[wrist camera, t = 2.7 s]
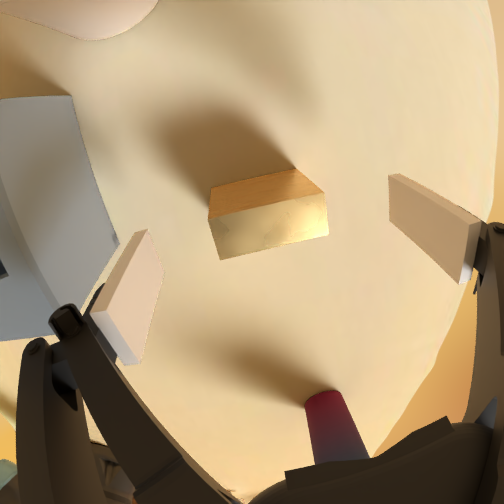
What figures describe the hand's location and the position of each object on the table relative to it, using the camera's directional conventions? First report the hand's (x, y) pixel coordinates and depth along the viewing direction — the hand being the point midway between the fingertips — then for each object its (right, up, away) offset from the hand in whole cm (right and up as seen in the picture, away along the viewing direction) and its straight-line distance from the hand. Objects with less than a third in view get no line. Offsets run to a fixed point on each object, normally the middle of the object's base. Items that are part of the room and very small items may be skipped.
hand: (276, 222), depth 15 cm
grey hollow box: (-18, +3, +3) cm, 19 cm away
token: (-1, +3, +5) cm, 6 cm away
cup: (+8, -21, +19) cm, 29 cm away
